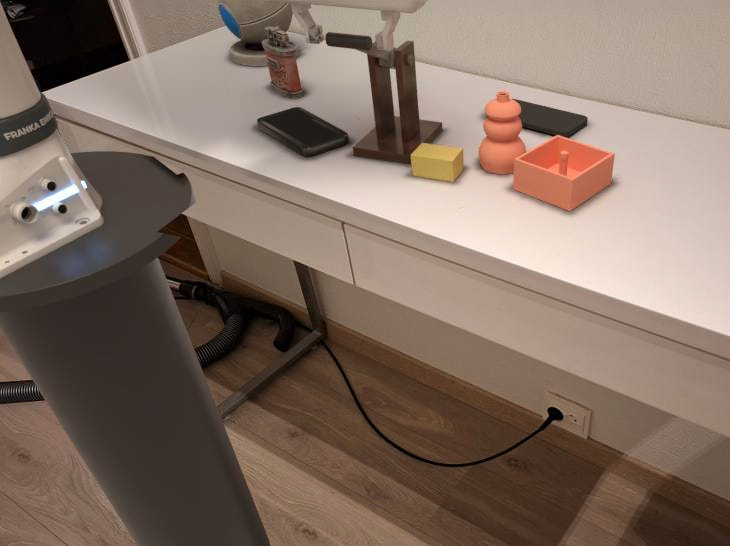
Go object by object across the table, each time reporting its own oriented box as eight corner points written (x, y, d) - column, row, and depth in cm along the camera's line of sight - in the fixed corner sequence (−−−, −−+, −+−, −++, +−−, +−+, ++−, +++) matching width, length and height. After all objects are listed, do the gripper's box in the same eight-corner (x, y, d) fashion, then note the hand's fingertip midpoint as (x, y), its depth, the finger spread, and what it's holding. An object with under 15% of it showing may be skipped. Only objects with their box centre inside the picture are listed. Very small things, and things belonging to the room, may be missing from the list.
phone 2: (509, 97, 110) (590, 116, 103) (509, 102, 110) (590, 122, 104) (483, 112, 105) (566, 133, 99) (483, 117, 106) (566, 139, 99)
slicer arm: (365, 53, 79) (367, 31, 79) (324, 48, 81) (325, 26, 80) (413, 71, 92) (415, 52, 92) (377, 67, 94) (378, 48, 93)
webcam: (312, 54, 129) (297, -34, 119) (252, 71, 123) (231, -21, 112) (277, 39, 136) (260, -46, 126) (219, 54, 130) (196, -34, 120)
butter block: (453, 182, 90) (452, 161, 88) (412, 175, 92) (410, 154, 90) (463, 169, 93) (463, 148, 91) (423, 163, 94) (422, 142, 92)
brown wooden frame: (411, 164, 94) (402, 62, 85) (353, 155, 96) (338, 55, 87) (442, 130, 102) (438, 34, 93) (389, 123, 105) (379, 28, 95)
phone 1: (304, 150, 95) (254, 119, 103) (306, 158, 96) (255, 126, 104) (351, 134, 99) (299, 105, 107) (352, 141, 99) (300, 112, 108)
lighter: (266, 87, 117) (253, 25, 110) (284, 82, 118) (271, 20, 112) (290, 99, 112) (278, 36, 106) (308, 94, 114) (297, 31, 107)
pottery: (611, 183, 89) (620, 110, 83) (569, 211, 84) (576, 135, 77) (505, 146, 98) (506, 77, 91) (462, 169, 93) (460, 98, 86)
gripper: (230, -91, 72) (260, 46, 81) (405, -82, 67) (416, 63, 76) (263, -100, 76) (288, 30, 86) (429, -93, 71) (437, 45, 80)
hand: (350, 46), depth 81 cm, fingers open, 8 cm apart
